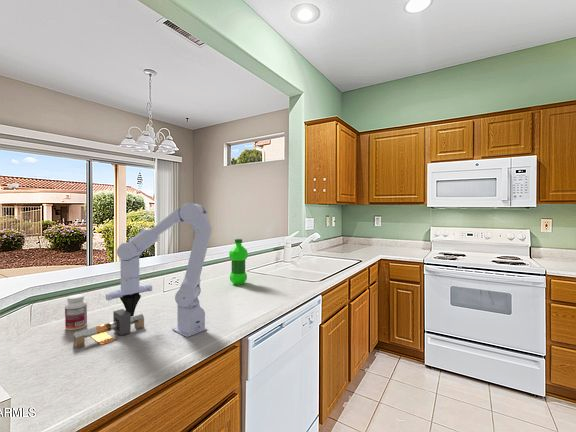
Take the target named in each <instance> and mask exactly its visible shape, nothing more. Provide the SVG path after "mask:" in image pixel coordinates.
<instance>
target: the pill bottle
mask: <svg viewBox="0 0 576 432" xmlns="http://www.w3.org/2000/svg"><path fill="white" fill-rule="evenodd" d="M84 299H85V295H84V294H74V295H70V296H67V303H66V304H65V305H64V317H65V318H64V319H65V320H64V321H65V322H64V323H65V324H64V326H65V330H66V331H76V330H80V329H83V328H85V327H86V326H87V325H88V315H87V314H88V310H87V309H88V307H87V306H88V305H87V301H85V300H84Z"/></svg>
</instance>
